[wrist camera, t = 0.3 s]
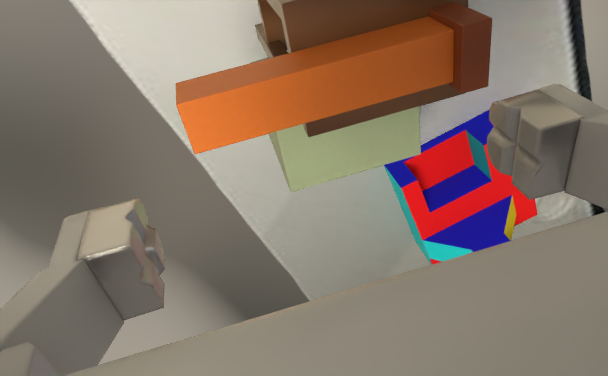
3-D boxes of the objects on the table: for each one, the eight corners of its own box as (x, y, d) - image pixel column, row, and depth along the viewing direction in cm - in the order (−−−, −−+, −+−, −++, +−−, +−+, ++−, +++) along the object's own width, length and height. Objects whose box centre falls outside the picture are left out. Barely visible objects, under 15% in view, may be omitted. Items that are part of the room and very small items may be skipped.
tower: (172, 75, 30) (173, 103, 27) (455, 1, 32) (492, 17, 28) (195, 135, 33) (198, 168, 29) (454, 64, 35) (488, 86, 31)
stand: (235, -50, 50) (281, 3, 29) (348, -77, 51) (470, -45, 30) (256, 40, 56) (308, 138, 35) (357, 14, 57) (465, 93, 36)
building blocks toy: (544, 176, 81) (627, 243, 66) (416, 241, 82) (469, 321, 68) (531, 87, 70) (628, 144, 55) (384, 164, 71) (439, 240, 56)
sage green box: (249, 62, 57) (271, 112, 45) (367, 31, 59) (418, 72, 47) (267, 132, 63) (290, 192, 51) (374, 102, 65) (421, 154, 53)
